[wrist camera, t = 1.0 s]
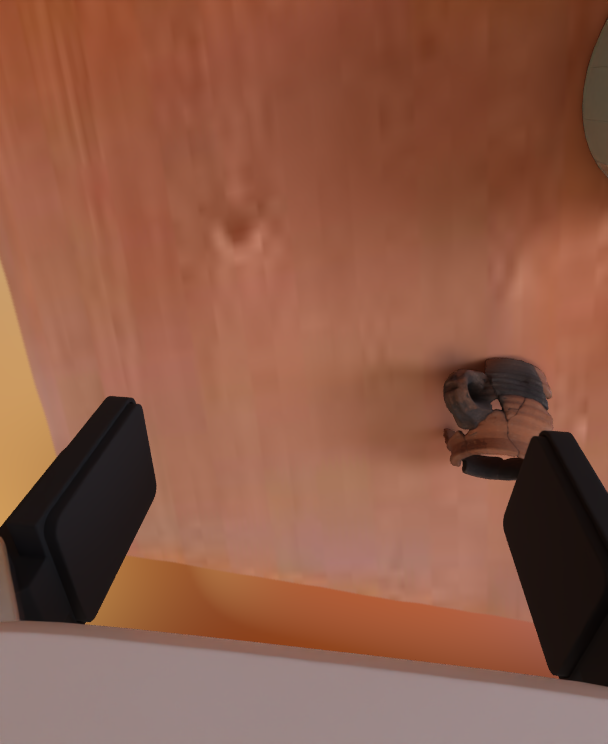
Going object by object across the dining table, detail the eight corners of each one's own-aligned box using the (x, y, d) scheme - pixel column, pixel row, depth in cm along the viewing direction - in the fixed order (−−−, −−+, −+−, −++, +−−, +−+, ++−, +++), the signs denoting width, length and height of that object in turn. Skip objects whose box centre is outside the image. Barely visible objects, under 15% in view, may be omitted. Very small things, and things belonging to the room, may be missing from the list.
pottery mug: (575, 385, 41) (584, 478, 37) (480, 410, 48) (479, 490, 45) (491, 321, 36) (491, 421, 32) (398, 359, 43) (388, 445, 39)
